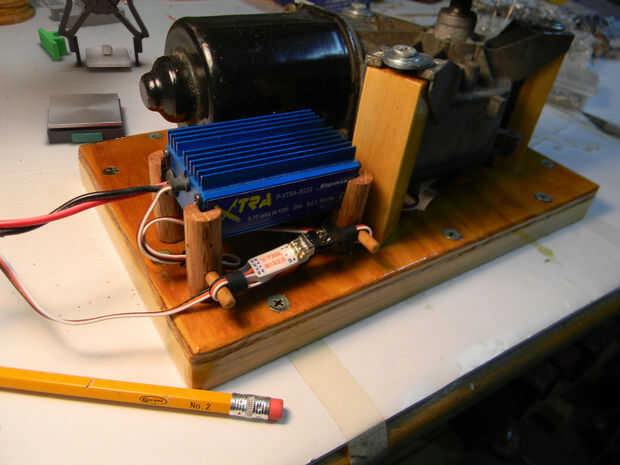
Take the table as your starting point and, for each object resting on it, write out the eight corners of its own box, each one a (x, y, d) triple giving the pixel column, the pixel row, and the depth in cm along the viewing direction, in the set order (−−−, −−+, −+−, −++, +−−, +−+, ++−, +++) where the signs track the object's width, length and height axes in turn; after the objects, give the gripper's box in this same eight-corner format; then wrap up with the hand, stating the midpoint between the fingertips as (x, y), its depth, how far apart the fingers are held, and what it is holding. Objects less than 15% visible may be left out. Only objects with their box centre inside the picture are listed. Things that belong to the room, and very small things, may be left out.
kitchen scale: (50, 147, 87) (46, 130, 84) (53, 112, 96) (49, 97, 94) (125, 143, 91) (123, 127, 89) (121, 110, 100) (119, 95, 98)
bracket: (51, 19, 134) (42, -23, 127) (111, 12, 145) (106, -27, 138) (66, 30, 130) (58, -13, 123) (127, 22, 140) (123, -17, 133)
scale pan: (48, 128, 85) (47, 124, 85) (51, 97, 94) (50, 94, 93) (121, 125, 89) (121, 122, 89) (118, 96, 98) (117, 93, 97)
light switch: (132, 74, 114) (130, 53, 111) (88, 75, 111) (85, 53, 108) (128, 58, 121) (126, 38, 118) (86, 58, 117) (83, 38, 114)
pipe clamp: (72, 61, 116) (68, 42, 113) (56, 63, 114) (52, 44, 111) (57, 44, 122) (53, 26, 119) (41, 46, 120) (37, 27, 117)
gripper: (30, -32, 95) (52, 71, 109) (156, -24, 104) (163, 71, 117) (32, -41, 100) (54, 59, 114) (153, -33, 109) (159, 59, 123)
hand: (109, 65), depth 116 cm, fingers open, 12 cm apart
